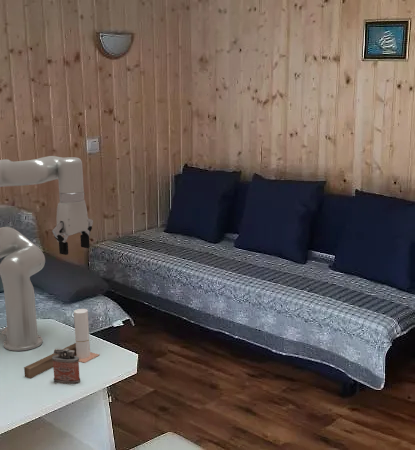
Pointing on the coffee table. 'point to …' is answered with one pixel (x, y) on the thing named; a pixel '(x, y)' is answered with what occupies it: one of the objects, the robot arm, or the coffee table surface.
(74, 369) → the lighter
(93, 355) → the end pad
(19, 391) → the coffee table surface
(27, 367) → the walnut straightedge
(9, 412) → the coffee table surface
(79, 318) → the tube
